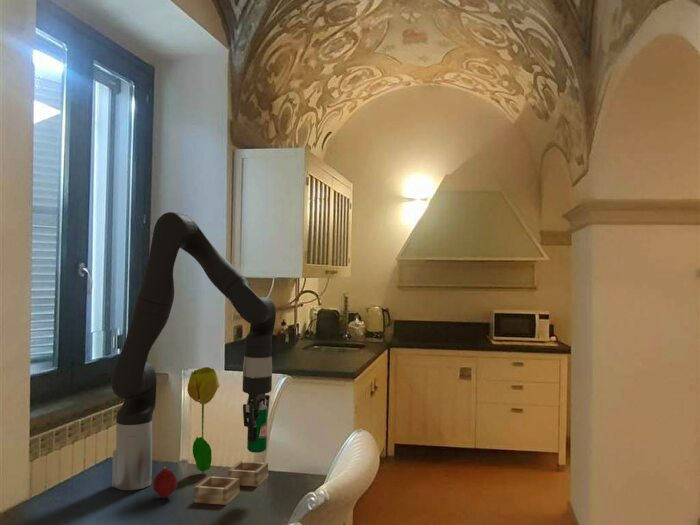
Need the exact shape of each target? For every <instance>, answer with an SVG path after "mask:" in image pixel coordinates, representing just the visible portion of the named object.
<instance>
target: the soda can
mask: <svg viewBox="0 0 700 525" xmlns="http://www.w3.org/2000/svg"><path fill="white" fill-rule="evenodd" d="M257 411H258V410H257ZM256 414H257V412H254V415H256ZM268 418H269V409H268V408H267V406H266V404H263V406H262V407H261V409H260V418H259V419H258V422H257V441H256V442H254V443H253V442H248V433H246V434H247V442H246V445H247V446H246V449H247V451H248V452H250V453H258V454H259V453H263V452H265V451H266V450H268V449H267V448H268V420H269V419H268ZM254 420H255V418H254ZM250 422H251V420H250Z"/></svg>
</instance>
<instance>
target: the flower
mask: <svg viewBox="0 0 700 525" xmlns="http://www.w3.org/2000/svg"><path fill="white" fill-rule="evenodd" d="M219 387H220V383H219V379H218V374H217V371H216V370H215V369H214V368H213V367H212V368H211V367H208V366H205V367H202V368H197V369H196V370H193V371H191V373H190V376H189V380H188V383H187V395H188V396H189V397H190V398H191V399H192V400H194V401H195V402H197V403H199V404H201V436H200V437H198V436H196V438H195V440H193V441H194V442H193V445H192V454H193V455H192V456H193V458H194V461H195V465H196V469H197V470H198V471H201V474H204V473H205V472H206V471H208V470H209V469H211V464H212V448H211V446H210V444H209V443H208V442H207V441H206V439H205V438H204V417H205V416H204V415H205V414H204V413H205V412H204V410H205V405H206V404H208V403H210V402H211V401H212V399H213V398H214V397H215V395H216V393H217V390H218V389H219Z"/></svg>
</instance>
